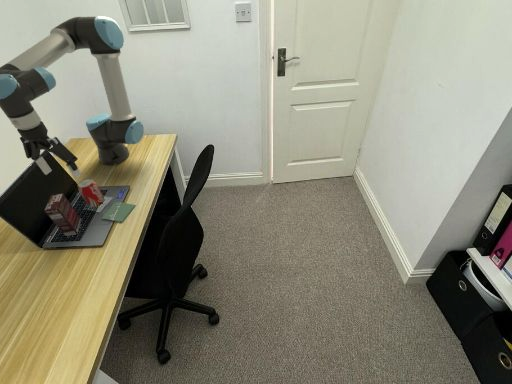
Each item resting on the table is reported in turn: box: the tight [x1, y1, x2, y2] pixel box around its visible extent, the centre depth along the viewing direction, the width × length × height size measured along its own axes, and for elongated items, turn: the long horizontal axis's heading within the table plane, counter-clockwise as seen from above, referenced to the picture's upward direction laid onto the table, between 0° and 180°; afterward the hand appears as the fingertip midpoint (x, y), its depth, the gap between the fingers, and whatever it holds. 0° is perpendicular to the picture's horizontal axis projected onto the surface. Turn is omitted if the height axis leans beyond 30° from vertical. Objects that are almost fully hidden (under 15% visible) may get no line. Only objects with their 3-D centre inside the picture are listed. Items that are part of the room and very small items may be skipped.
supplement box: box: [43, 193, 83, 237], centre depth 109 cm, size 9×5×16 cm, turn 13°
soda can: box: [77, 178, 105, 207], centre depth 121 cm, size 7×7×12 cm
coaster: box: [101, 202, 136, 223], centre depth 120 cm, size 10×10×1 cm
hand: (63, 174), depth 107 cm, fingers open, 13 cm apart
